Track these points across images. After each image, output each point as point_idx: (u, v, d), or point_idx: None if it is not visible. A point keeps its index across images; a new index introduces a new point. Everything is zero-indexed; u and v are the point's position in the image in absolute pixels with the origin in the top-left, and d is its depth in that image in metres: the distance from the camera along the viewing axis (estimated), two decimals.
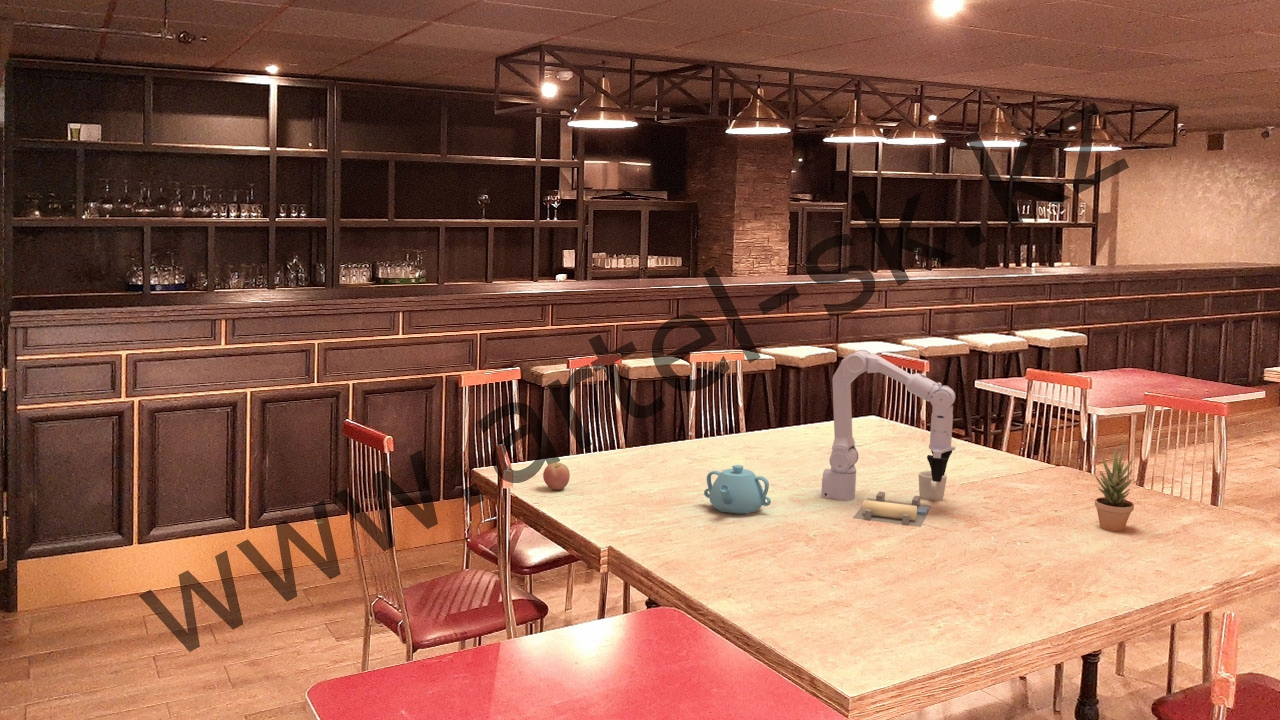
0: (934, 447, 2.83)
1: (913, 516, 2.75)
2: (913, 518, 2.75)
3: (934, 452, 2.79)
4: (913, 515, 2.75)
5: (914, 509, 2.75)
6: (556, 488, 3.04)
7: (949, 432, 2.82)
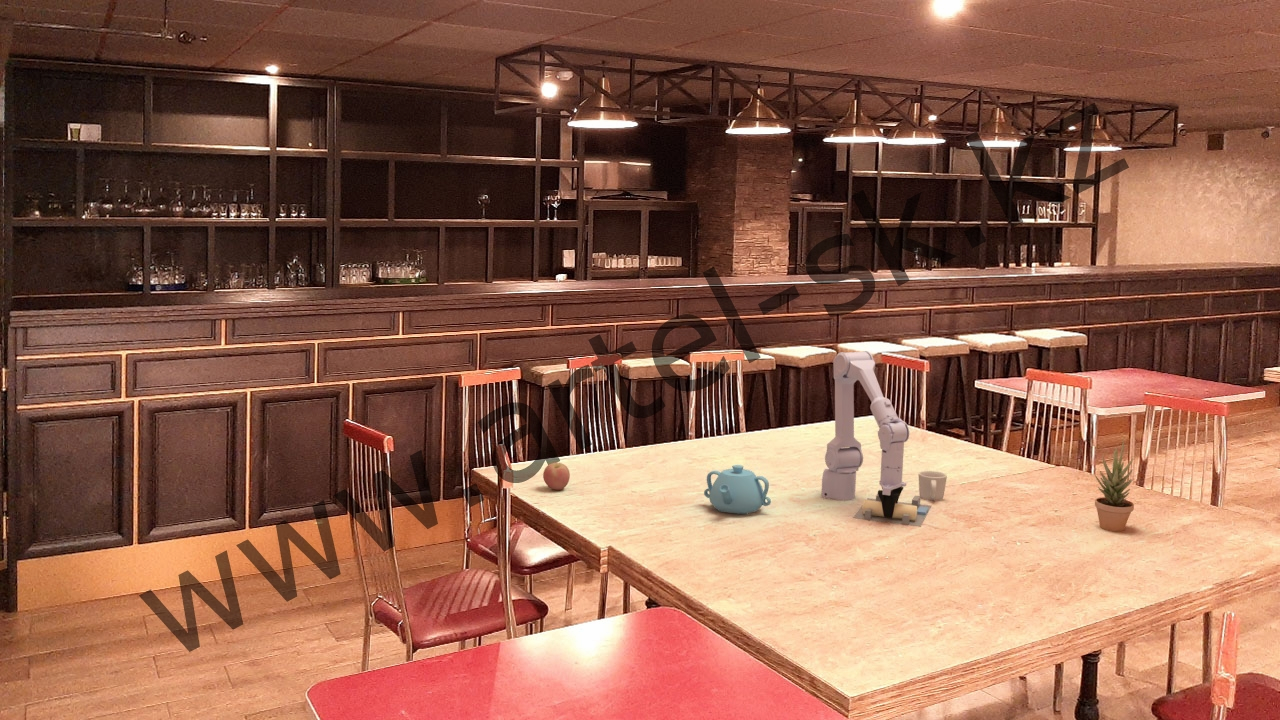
0: (884, 483, 2.76)
1: (913, 516, 2.75)
2: (913, 518, 2.75)
3: (883, 489, 2.72)
4: (913, 515, 2.75)
5: (914, 509, 2.75)
6: (556, 488, 3.04)
7: (899, 468, 2.75)
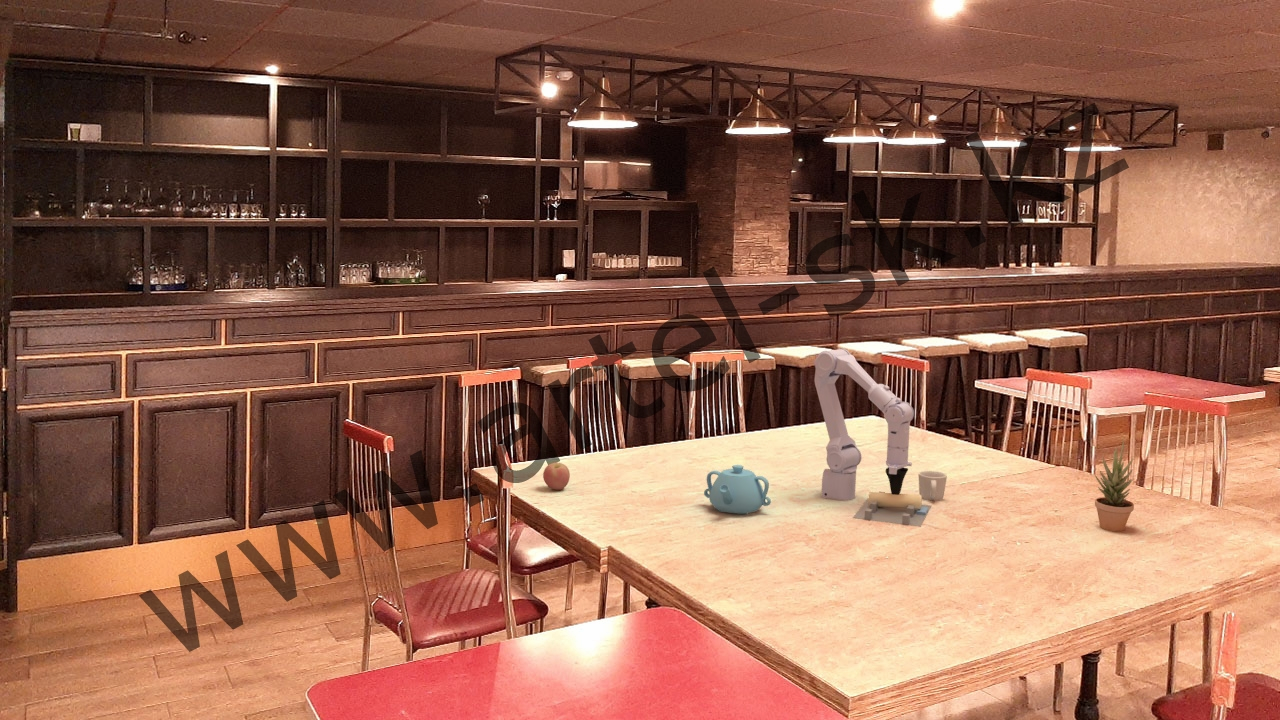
0: (891, 463, 2.84)
1: (918, 504, 2.83)
2: (918, 506, 2.83)
3: (890, 468, 2.80)
4: (918, 503, 2.83)
5: (918, 497, 2.83)
6: (556, 488, 3.04)
7: (905, 448, 2.83)
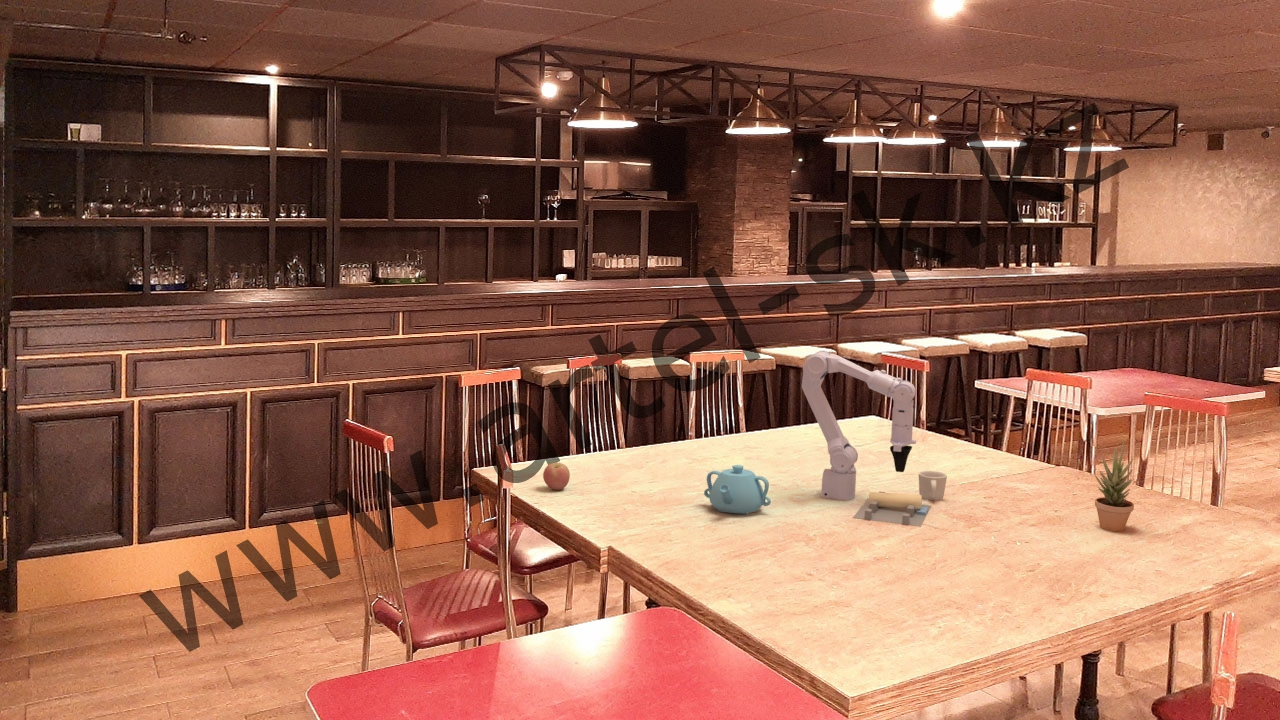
0: (895, 441, 2.89)
1: (918, 504, 2.83)
2: (918, 506, 2.83)
3: (894, 446, 2.84)
4: (918, 503, 2.83)
5: (918, 497, 2.83)
6: (556, 488, 3.04)
7: (910, 426, 2.88)
